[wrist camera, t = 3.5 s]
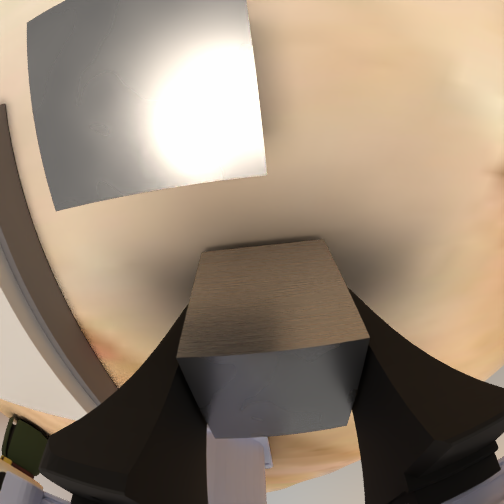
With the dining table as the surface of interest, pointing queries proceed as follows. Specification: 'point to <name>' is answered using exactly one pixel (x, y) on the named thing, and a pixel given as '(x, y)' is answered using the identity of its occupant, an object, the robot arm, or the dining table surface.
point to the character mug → (22, 451)
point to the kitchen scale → (38, 316)
